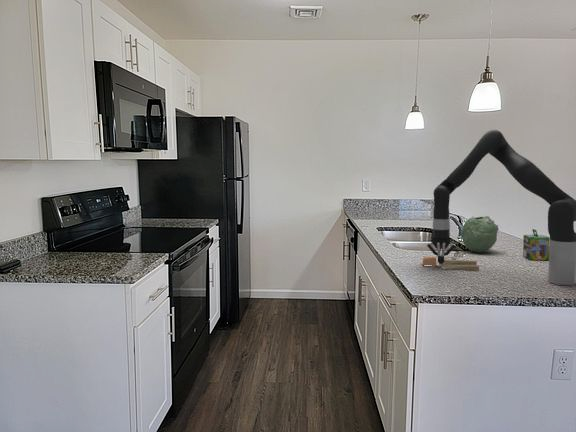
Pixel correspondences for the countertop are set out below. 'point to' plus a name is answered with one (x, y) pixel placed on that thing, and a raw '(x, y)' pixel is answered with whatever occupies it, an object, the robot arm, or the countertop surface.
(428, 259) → the terracotta block
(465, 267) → the chute
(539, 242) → the chalk box
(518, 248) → the countertop surface
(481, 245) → the cabbage
